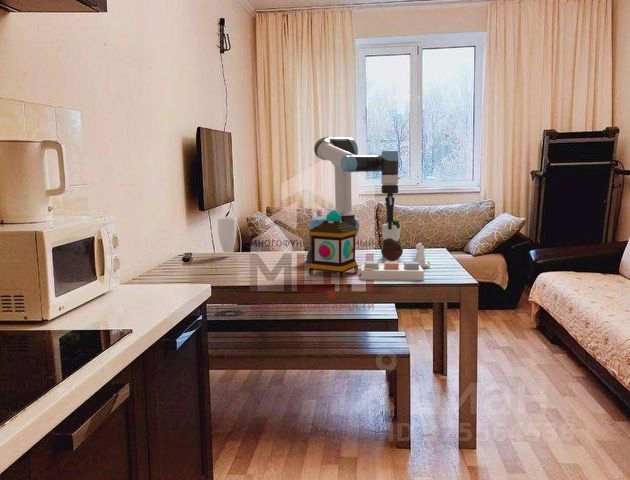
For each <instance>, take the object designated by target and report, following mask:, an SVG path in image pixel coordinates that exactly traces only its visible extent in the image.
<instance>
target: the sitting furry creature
mask: <svg viewBox="0 0 630 480" xmlns="http://www.w3.org/2000/svg"><path fill="white" fill-rule="evenodd" d="M415 250H416V251H417V252H415V253H416V254H415V257H414V258H413V260H412V261H414V262H418V263H419V265H420V266H421V267H422V269H430V266H431V262H430V261H429V260H426V256H425V251H426V249H425V246H424V245H423V243H422V242H418V243H417V244H416V245H415Z"/></svg>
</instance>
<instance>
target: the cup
mask: <svg viewBox="0 0 630 480" xmlns="http://www.w3.org/2000/svg"><path fill="white" fill-rule="evenodd" d="M217 233H218V239H219V243H220V246H221V248H222V250H223V252H224V253H231V252H233V250H234V247H235V244H236V238H237V217H233V216H221V217H218V218H217Z"/></svg>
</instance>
